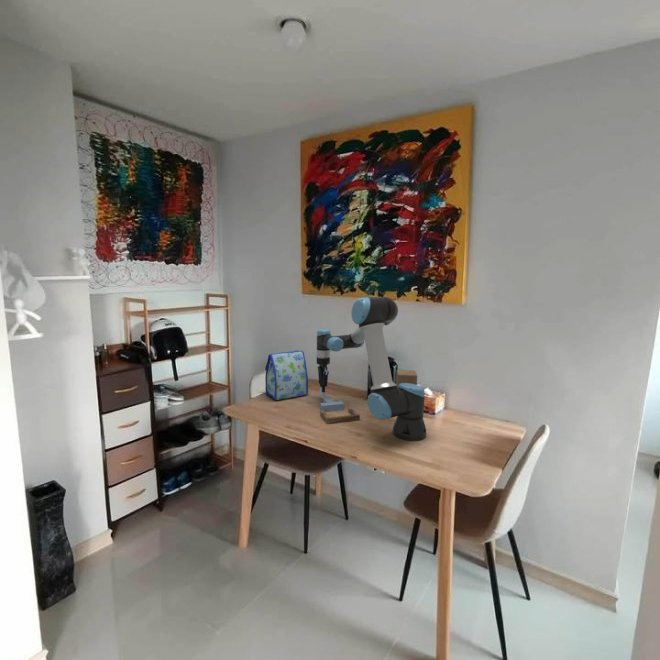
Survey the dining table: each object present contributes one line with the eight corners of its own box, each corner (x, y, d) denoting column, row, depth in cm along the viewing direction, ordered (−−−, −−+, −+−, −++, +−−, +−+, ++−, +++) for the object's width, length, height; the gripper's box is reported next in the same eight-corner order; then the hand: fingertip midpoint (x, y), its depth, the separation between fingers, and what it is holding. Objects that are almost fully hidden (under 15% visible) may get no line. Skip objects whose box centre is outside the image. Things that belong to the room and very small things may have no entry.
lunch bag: (295, 388, 241) (295, 347, 237) (309, 395, 228) (310, 352, 224) (263, 394, 229) (262, 351, 225) (275, 402, 216) (275, 357, 211)
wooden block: (413, 405, 215) (415, 370, 212) (415, 411, 205) (417, 375, 202) (395, 404, 216) (396, 369, 213) (396, 410, 206) (398, 374, 203)
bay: (359, 420, 193) (359, 415, 192) (327, 424, 187) (327, 419, 187) (350, 411, 204) (351, 407, 203) (320, 415, 198) (320, 410, 198)
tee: (343, 409, 206) (343, 403, 206) (322, 412, 203) (322, 405, 202) (336, 402, 218) (336, 396, 217) (315, 404, 214) (315, 398, 213)
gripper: (333, 359, 212) (332, 400, 216) (325, 353, 224) (325, 392, 228) (320, 359, 210) (319, 401, 214) (313, 354, 222) (313, 394, 226)
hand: (322, 397), depth 221 cm, fingers closed
